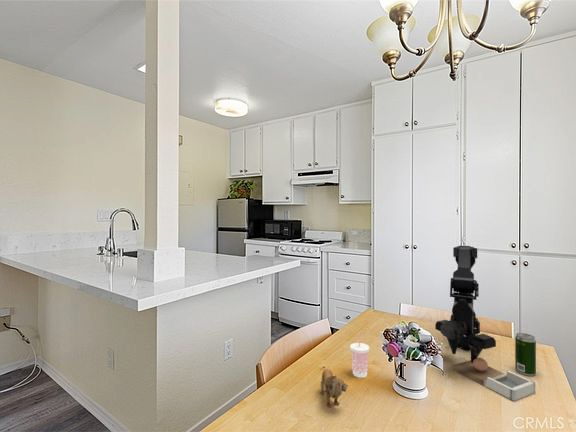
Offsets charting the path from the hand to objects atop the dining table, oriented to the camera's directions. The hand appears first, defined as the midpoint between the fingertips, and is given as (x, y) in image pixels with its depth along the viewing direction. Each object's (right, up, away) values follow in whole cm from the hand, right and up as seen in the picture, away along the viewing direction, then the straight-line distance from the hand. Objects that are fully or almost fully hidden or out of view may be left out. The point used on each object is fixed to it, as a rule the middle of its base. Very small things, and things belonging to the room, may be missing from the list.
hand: (463, 358), depth 104 cm
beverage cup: (-36, -4, -4) cm, 37 cm away
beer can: (+18, -3, -4) cm, 19 cm away
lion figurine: (-47, -4, -17) cm, 50 cm away
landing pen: (+6, -3, -14) cm, 15 cm away
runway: (+2, -3, -5) cm, 6 cm away
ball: (+2, 0, -5) cm, 6 cm away
